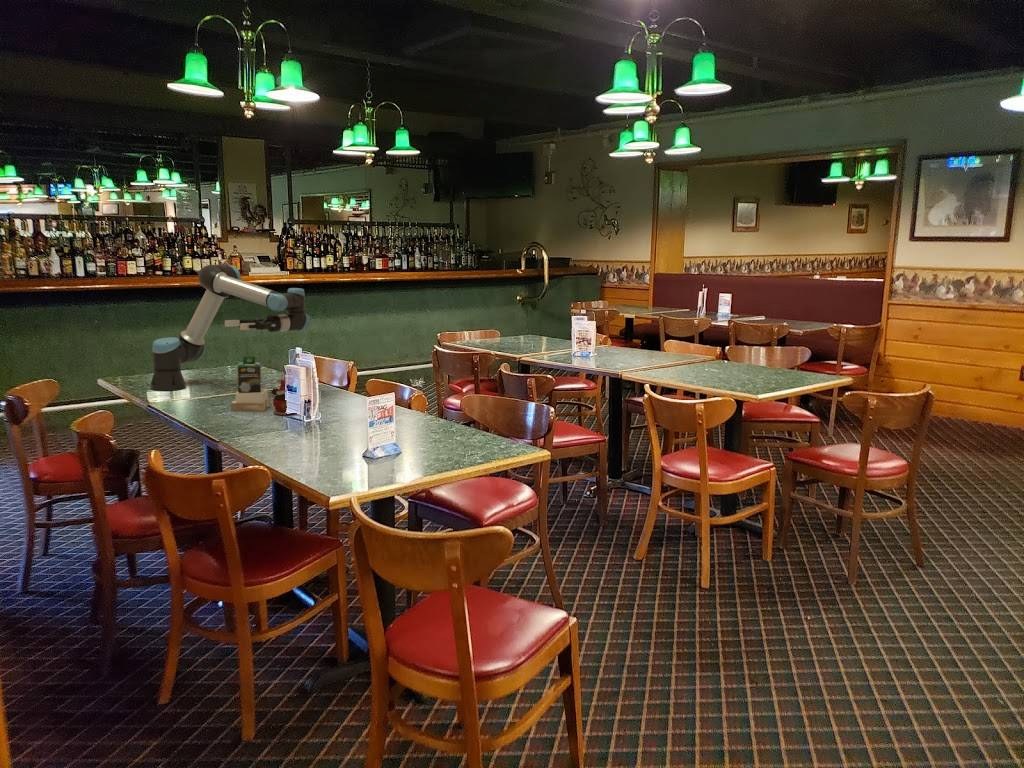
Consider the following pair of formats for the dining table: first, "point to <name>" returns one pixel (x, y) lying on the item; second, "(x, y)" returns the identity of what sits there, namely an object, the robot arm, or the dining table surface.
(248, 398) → the tower top
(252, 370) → the chalk box
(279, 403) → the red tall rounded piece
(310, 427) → the dining table surface
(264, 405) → the tower base
